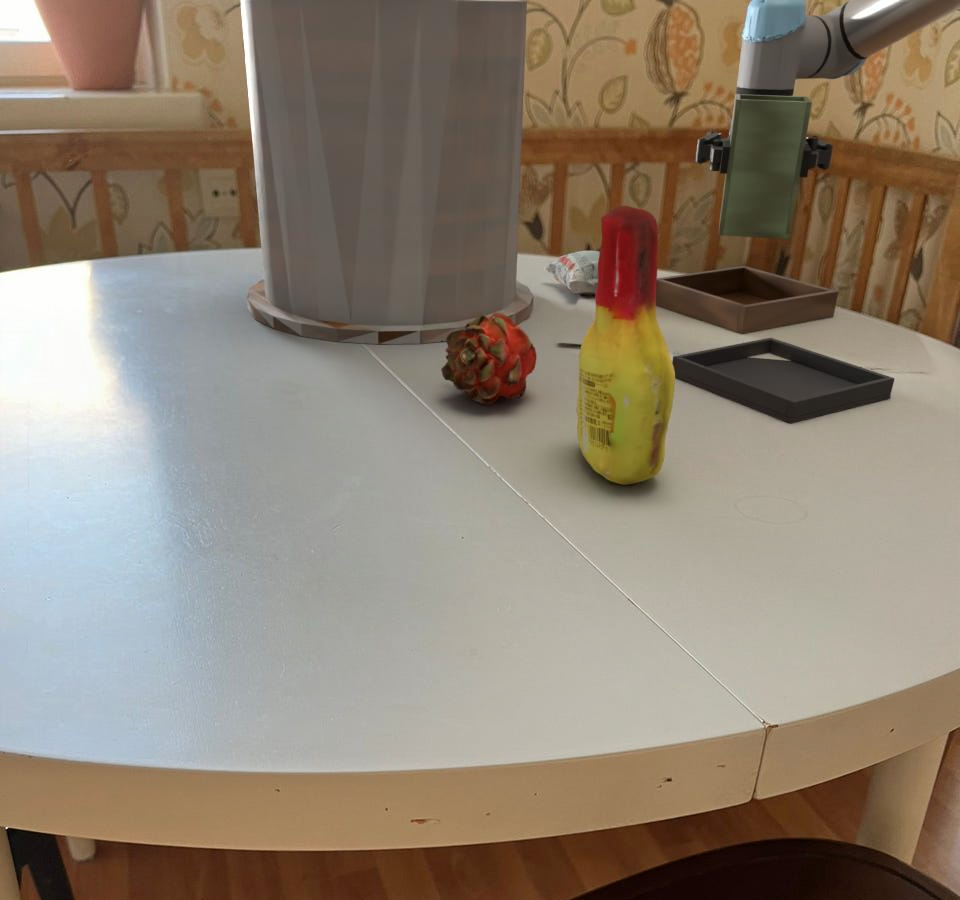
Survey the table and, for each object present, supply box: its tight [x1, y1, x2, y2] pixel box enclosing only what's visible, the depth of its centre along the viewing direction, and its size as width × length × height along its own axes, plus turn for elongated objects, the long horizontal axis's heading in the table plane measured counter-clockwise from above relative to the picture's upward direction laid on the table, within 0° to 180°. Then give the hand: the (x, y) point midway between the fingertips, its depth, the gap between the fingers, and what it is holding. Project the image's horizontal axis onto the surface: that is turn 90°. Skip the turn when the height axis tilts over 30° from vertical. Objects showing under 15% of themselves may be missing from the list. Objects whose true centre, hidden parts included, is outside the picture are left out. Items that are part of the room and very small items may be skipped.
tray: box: [671, 337, 895, 424], centre depth 104 cm, size 16×14×2 cm
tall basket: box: [718, 94, 813, 240], centre depth 120 cm, size 8×8×14 cm
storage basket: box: [240, 0, 534, 345], centre depth 121 cm, size 35×35×32 cm
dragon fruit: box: [440, 313, 537, 406], centre depth 99 cm, size 8×8×12 cm
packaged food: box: [544, 250, 600, 296], centre depth 135 cm, size 9×12×5 cm
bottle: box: [576, 205, 676, 486], centre depth 81 cm, size 12×6×20 cm, turn 13°
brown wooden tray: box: [656, 265, 839, 335], centre depth 128 cm, size 16×16×4 cm
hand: (765, 162), depth 115 cm, fingers closed on tall basket, 8 cm apart
